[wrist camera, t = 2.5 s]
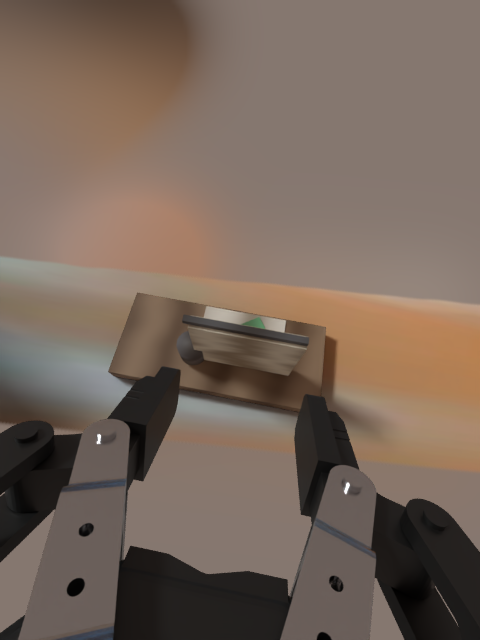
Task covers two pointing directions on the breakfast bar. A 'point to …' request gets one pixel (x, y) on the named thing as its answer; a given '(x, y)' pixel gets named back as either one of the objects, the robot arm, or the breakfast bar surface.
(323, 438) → the robot arm
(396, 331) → the breakfast bar surface
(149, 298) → the brown rectangular board
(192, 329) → the dark-edged wooden panel
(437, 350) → the breakfast bar surface
